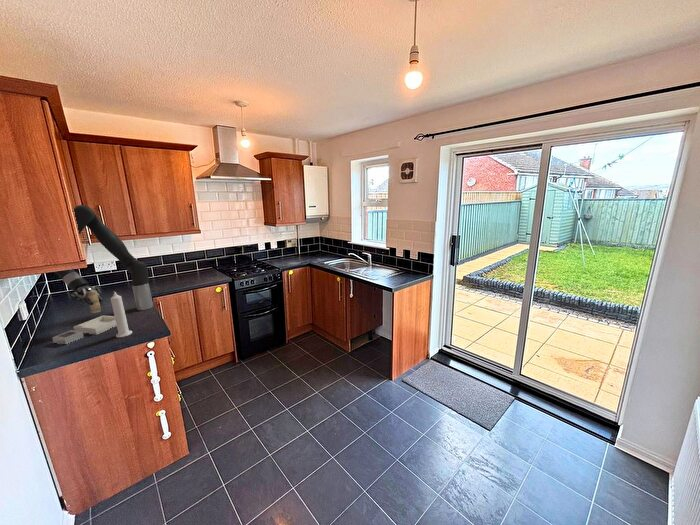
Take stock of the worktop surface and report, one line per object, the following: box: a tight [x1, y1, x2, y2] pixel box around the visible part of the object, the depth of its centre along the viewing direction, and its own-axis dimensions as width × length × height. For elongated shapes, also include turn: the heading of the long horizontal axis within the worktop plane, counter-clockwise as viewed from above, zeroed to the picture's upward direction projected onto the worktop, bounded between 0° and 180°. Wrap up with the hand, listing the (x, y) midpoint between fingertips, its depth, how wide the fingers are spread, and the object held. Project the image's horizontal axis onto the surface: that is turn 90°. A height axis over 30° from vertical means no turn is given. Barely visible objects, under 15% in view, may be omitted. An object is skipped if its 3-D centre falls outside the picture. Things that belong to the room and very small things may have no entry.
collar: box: [52, 329, 85, 345], centre depth 151 cm, size 8×8×4 cm
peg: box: [87, 291, 102, 314], centre depth 163 cm, size 4×4×12 cm
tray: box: [73, 314, 117, 335], centre depth 166 cm, size 16×16×4 cm
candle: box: [110, 291, 133, 339], centre depth 153 cm, size 7×7×25 cm
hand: (97, 302), depth 163 cm, fingers closed on peg, 4 cm apart
